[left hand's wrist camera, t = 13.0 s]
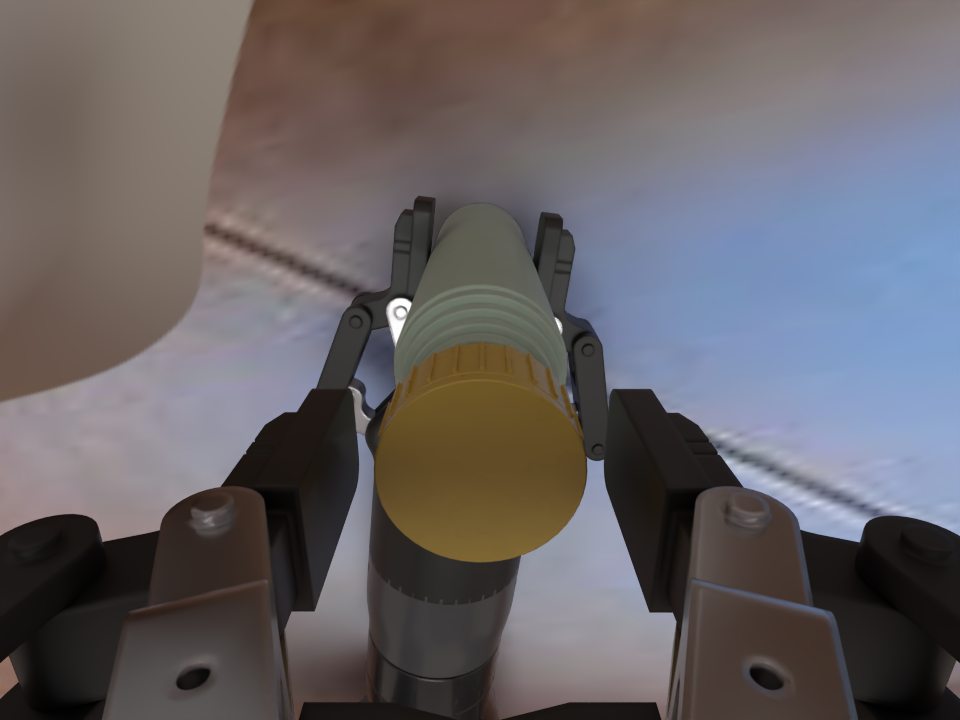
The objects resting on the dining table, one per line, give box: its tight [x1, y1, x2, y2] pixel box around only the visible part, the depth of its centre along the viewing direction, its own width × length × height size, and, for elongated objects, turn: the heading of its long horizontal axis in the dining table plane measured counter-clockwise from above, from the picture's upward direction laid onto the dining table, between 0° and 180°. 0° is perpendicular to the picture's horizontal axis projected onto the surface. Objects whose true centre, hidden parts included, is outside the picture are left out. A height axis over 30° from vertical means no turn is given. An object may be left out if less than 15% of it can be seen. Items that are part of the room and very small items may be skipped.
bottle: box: [393, 203, 568, 386], centre depth 20 cm, size 4×4×21 cm
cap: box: [374, 341, 587, 562], centre depth 11 cm, size 4×4×2 cm
